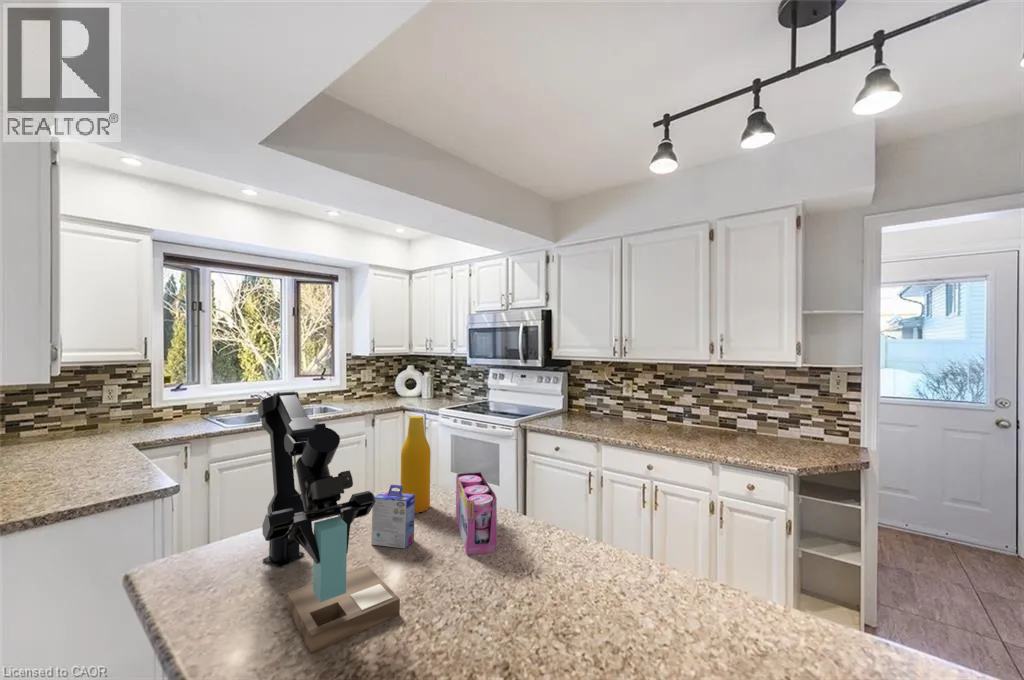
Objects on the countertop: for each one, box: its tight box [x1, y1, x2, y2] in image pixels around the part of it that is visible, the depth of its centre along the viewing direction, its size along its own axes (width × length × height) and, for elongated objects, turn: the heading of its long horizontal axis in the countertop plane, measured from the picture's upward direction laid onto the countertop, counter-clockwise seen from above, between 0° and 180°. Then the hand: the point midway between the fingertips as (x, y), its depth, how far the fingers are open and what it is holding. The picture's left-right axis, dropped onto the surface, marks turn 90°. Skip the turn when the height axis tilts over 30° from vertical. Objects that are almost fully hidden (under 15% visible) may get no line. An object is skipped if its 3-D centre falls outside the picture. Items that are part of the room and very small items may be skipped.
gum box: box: [455, 471, 498, 555], centre depth 115 cm, size 24×8×14 cm, turn 15°
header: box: [286, 565, 401, 654], centre depth 82 cm, size 16×16×3 cm
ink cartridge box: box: [370, 484, 415, 549], centre depth 111 cm, size 10×6×14 cm, turn 78°
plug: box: [312, 515, 348, 602], centre depth 77 cm, size 4×4×12 cm
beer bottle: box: [400, 415, 432, 514], centre depth 133 cm, size 9×9×29 cm
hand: (332, 558), depth 76 cm, fingers closed on plug, 4 cm apart
